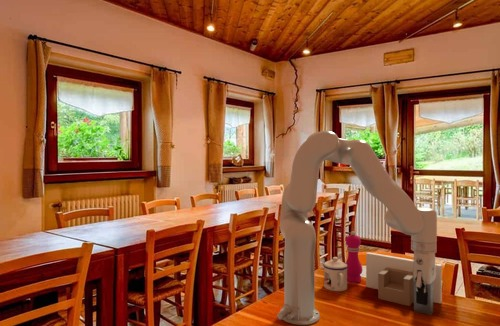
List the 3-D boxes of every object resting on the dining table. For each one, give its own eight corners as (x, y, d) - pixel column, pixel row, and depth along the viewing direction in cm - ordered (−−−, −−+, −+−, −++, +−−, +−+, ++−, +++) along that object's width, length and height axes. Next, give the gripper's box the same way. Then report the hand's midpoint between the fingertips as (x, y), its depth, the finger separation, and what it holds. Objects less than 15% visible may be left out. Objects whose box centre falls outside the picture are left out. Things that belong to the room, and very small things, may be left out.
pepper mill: (363, 283, 145) (363, 233, 144) (344, 282, 146) (344, 232, 145) (361, 277, 152) (361, 229, 151) (343, 276, 153) (343, 229, 153)
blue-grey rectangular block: (430, 315, 116) (430, 284, 116) (413, 311, 119) (413, 280, 119) (433, 311, 119) (433, 281, 119) (416, 307, 122) (416, 277, 122)
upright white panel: (434, 312, 118) (434, 272, 118) (357, 293, 135) (357, 258, 134) (441, 301, 127) (441, 264, 126) (368, 285, 143) (368, 252, 143)
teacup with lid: (320, 283, 145) (320, 254, 144) (342, 282, 146) (342, 253, 145) (330, 295, 133) (330, 263, 133) (354, 294, 134) (354, 262, 134)
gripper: (430, 253, 110) (429, 313, 110) (442, 242, 123) (441, 296, 123) (404, 249, 114) (403, 307, 115) (418, 239, 127) (418, 291, 128)
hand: (423, 301), depth 119 cm, fingers closed on blue-grey rectangular block, 3 cm apart
